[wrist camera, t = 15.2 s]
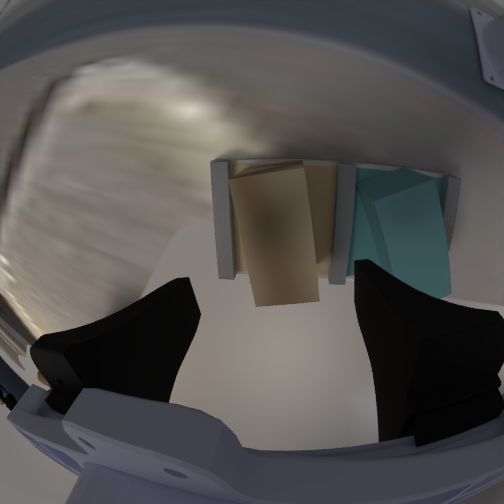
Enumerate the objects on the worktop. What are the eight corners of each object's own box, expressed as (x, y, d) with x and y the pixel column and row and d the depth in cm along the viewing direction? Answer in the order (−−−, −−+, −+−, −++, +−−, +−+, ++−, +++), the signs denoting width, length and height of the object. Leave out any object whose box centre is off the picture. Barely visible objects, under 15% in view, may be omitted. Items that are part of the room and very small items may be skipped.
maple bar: (302, 159, 18) (304, 168, 13) (315, 264, 21) (319, 301, 16) (245, 168, 19) (228, 179, 14) (265, 269, 22) (255, 306, 17)
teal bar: (404, 166, 17) (434, 178, 12) (425, 261, 19) (451, 293, 15) (355, 184, 18) (373, 201, 13) (383, 278, 20) (400, 314, 16)
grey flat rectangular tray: (451, 174, 17) (463, 179, 15) (433, 274, 21) (441, 286, 19) (214, 159, 20) (206, 162, 18) (221, 267, 24) (215, 278, 22)
